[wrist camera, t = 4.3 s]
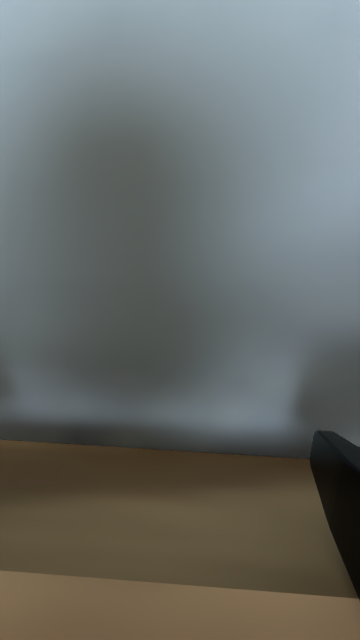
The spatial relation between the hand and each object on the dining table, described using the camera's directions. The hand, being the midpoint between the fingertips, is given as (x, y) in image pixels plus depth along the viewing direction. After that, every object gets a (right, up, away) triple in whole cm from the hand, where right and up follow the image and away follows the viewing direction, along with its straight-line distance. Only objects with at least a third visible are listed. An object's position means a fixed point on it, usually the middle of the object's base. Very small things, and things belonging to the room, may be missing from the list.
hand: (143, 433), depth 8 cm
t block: (0, -7, +3) cm, 7 cm away
